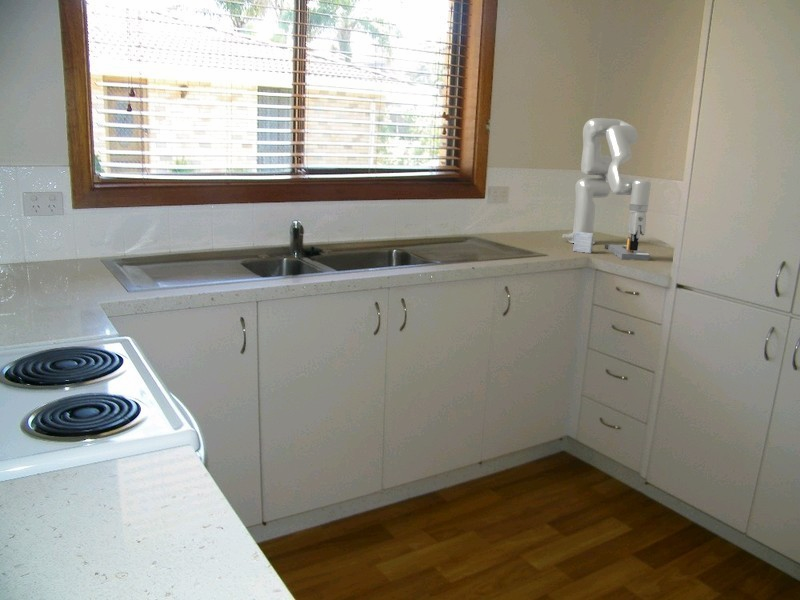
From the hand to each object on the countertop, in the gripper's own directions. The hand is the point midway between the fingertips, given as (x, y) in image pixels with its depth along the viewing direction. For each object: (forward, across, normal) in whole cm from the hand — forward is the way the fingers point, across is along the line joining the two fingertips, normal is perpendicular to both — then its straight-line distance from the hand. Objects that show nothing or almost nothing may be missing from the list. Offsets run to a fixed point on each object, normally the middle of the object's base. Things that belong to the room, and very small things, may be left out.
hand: (633, 250), depth 310 cm
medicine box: (+4, +9, +20) cm, 22 cm away
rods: (+4, +22, 0) cm, 22 cm away
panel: (+4, +7, 0) cm, 8 cm away
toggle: (+4, +4, 0) cm, 5 cm away
